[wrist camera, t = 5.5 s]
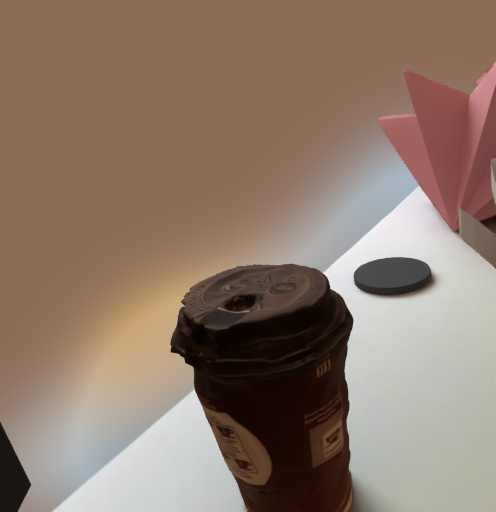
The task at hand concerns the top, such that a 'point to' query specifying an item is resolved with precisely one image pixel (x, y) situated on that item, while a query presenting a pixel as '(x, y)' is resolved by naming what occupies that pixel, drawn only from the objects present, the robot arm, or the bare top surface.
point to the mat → (392, 275)
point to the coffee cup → (273, 382)
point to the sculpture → (449, 144)
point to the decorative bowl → (480, 228)
